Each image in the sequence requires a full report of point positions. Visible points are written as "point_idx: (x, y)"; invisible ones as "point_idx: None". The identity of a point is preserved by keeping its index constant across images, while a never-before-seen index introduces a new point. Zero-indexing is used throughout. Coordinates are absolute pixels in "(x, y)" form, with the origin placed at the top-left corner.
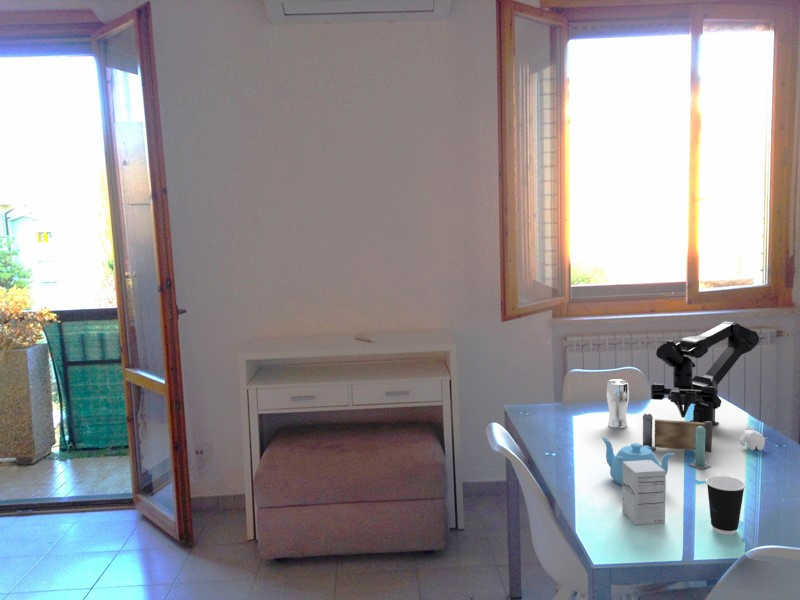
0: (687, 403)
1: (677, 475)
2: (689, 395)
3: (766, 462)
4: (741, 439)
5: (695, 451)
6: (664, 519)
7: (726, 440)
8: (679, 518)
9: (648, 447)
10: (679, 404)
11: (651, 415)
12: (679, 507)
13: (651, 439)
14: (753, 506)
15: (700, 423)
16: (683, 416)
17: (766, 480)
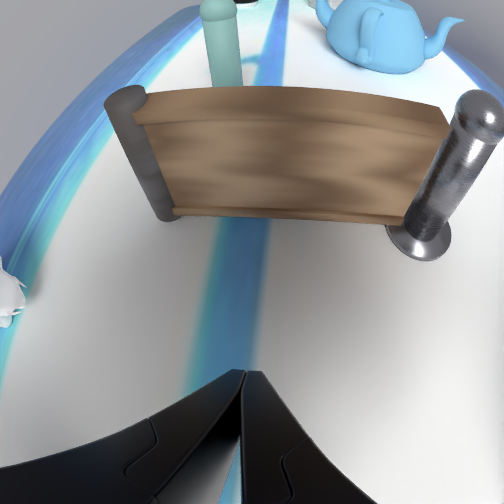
0: (142, 430)
1: (297, 72)
2: (9, 499)
3: (37, 192)
4: (10, 284)
5: (241, 76)
6: (309, 2)
7: (50, 416)
8: (292, 9)
9: (367, 8)
10: (293, 436)
11: (468, 96)
12: (292, 18)
13: (419, 187)
14: (185, 32)
15: (170, 96)
16: (244, 372)
17: (106, 97)
